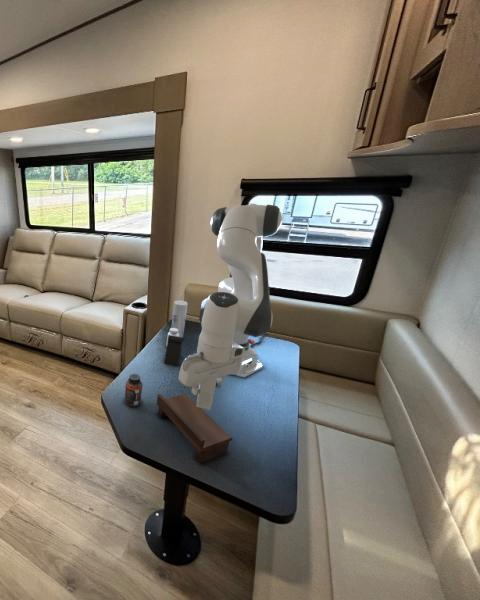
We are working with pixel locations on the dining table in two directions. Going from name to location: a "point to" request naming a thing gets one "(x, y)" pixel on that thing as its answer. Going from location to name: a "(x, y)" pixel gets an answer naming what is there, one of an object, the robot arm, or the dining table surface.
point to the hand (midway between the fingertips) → (206, 389)
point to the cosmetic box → (207, 392)
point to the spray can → (179, 316)
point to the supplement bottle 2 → (173, 333)
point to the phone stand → (173, 350)
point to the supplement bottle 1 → (133, 390)
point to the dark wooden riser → (195, 426)
